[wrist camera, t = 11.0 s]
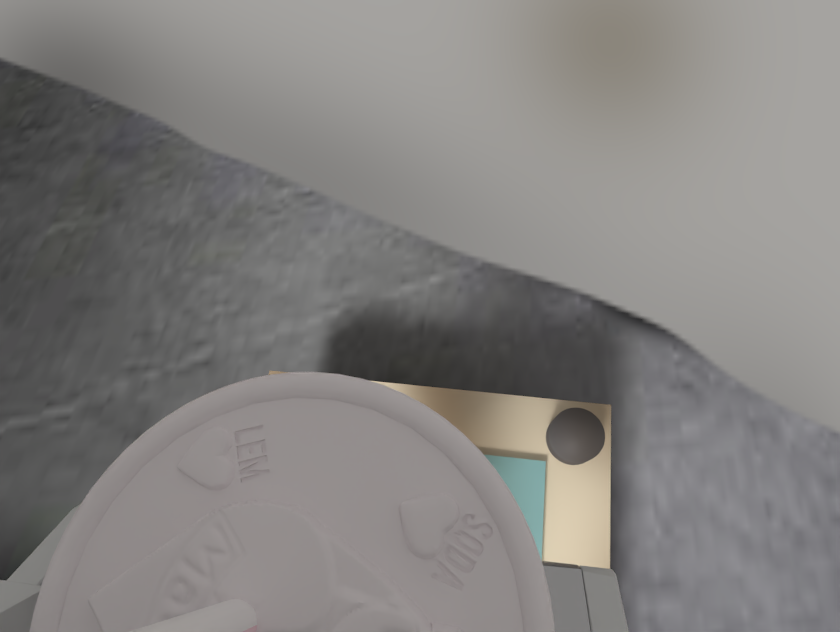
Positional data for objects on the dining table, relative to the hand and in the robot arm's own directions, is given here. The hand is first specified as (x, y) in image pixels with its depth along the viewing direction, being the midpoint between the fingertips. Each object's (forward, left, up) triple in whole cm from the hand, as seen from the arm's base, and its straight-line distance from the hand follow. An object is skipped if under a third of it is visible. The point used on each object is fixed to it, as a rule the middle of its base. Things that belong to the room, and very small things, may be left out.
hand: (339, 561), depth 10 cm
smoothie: (0, -1, -7) cm, 7 cm away
